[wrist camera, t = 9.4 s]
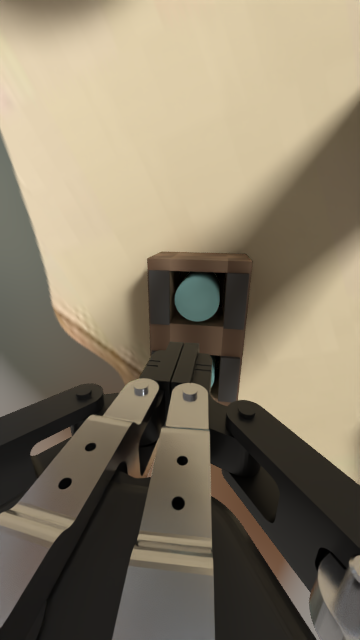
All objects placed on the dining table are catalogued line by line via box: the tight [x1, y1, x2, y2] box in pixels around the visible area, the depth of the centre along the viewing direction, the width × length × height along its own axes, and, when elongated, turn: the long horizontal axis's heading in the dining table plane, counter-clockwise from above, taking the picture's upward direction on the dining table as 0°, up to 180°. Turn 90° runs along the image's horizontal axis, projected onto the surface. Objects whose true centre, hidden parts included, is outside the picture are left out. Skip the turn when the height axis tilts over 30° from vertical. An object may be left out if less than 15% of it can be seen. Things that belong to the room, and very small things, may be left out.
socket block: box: [147, 252, 253, 406], centre depth 27 cm, size 9×15×6 cm, turn 179°
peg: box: [175, 271, 220, 321], centre depth 25 cm, size 4×4×6 cm
